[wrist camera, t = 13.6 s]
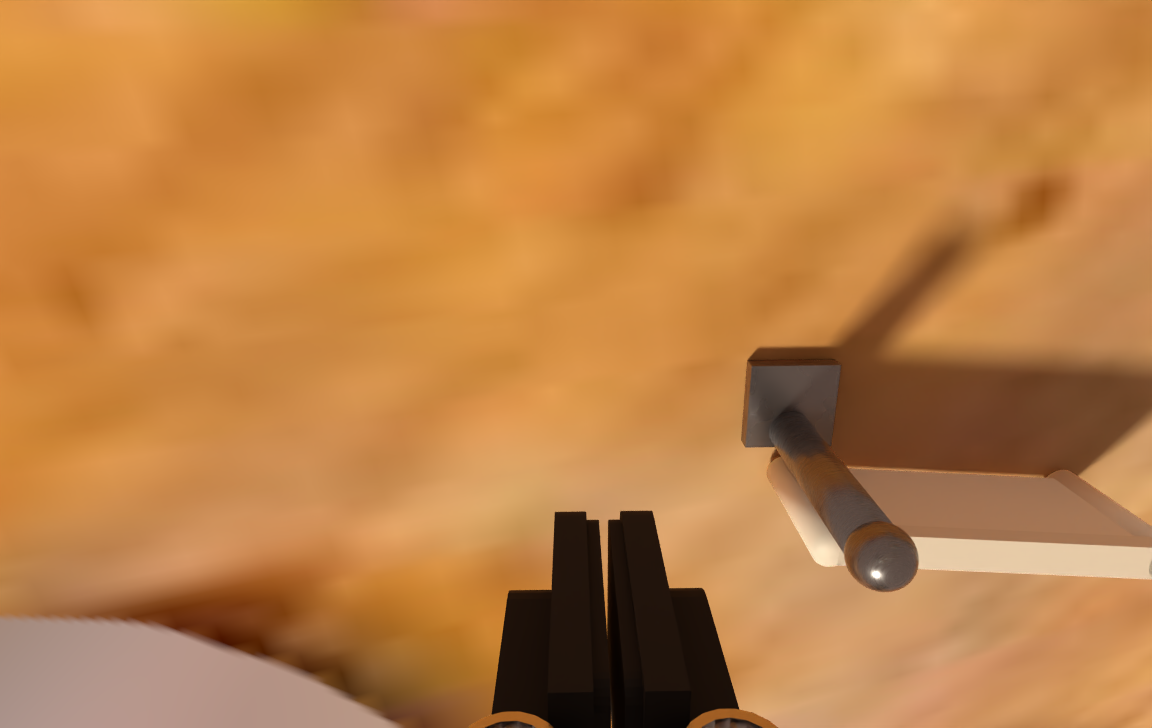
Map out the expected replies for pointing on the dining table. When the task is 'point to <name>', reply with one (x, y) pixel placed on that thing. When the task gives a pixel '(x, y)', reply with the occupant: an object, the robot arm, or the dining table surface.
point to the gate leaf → (989, 522)
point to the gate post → (824, 465)
